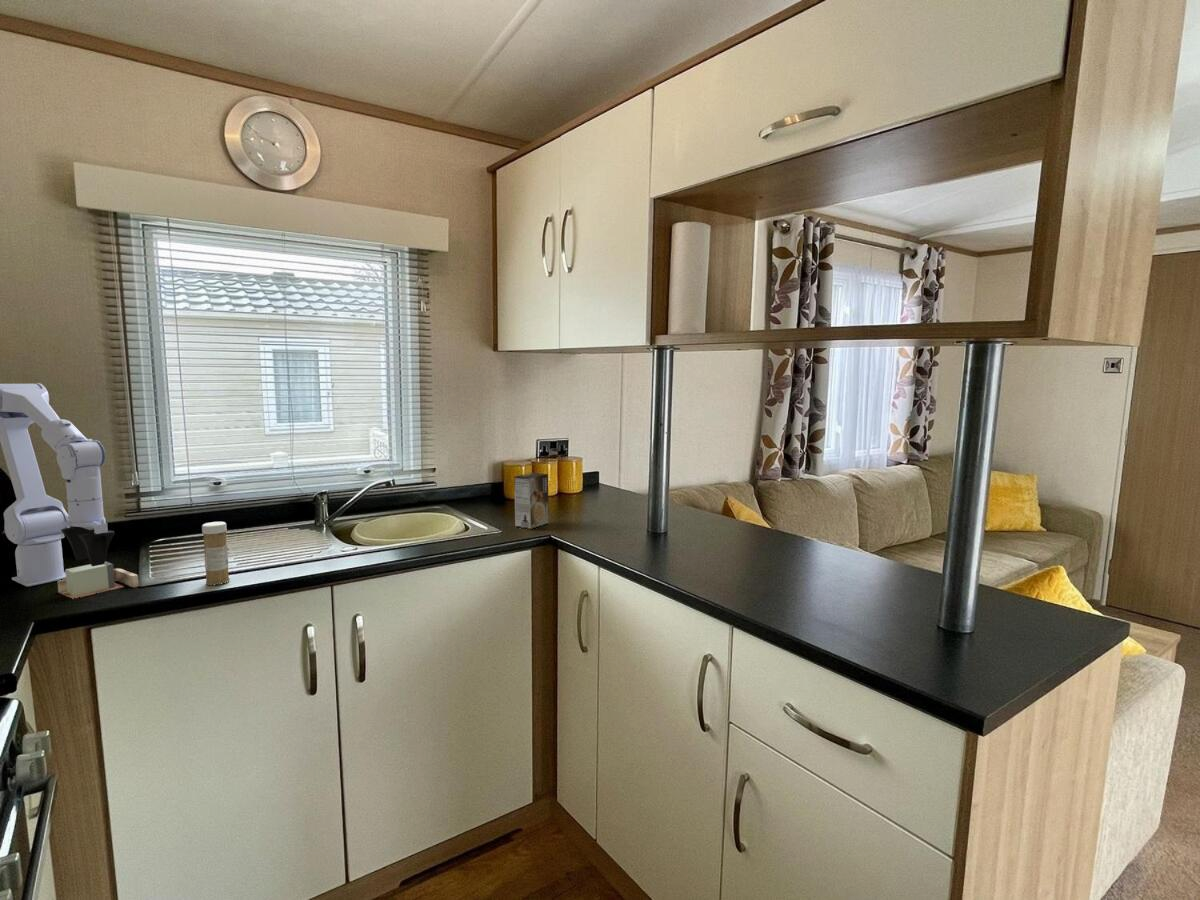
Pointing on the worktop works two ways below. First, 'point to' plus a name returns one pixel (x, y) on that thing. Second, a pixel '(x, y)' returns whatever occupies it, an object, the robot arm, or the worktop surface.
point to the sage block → (89, 578)
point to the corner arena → (119, 576)
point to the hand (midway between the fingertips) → (90, 562)
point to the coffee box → (531, 500)
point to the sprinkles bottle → (215, 552)
